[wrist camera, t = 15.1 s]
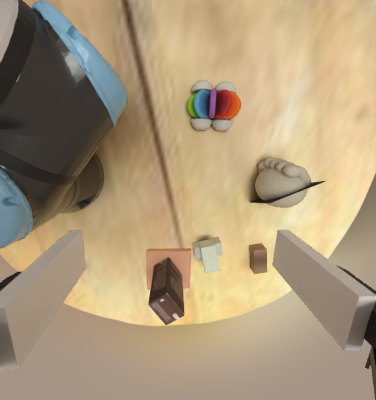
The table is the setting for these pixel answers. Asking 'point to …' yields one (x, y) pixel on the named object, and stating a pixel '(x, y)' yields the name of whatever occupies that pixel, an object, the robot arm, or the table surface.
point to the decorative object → (281, 183)
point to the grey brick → (198, 251)
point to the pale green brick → (209, 255)
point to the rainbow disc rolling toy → (213, 105)
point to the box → (167, 292)
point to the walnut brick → (258, 258)
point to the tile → (177, 256)
